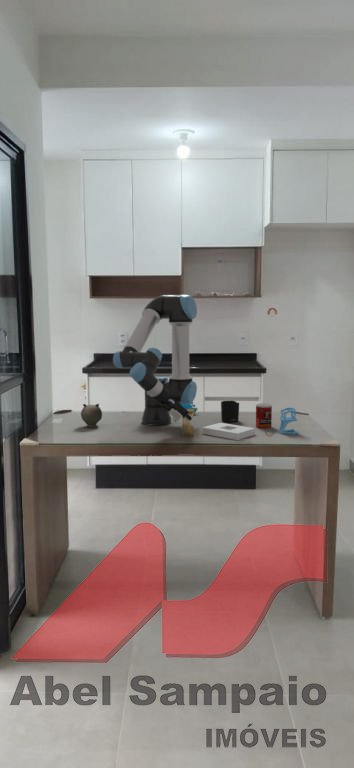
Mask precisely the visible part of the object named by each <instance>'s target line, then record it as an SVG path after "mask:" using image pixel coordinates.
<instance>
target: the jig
mask: <svg viewBox="0 0 354 768" xmlns="http://www.w3.org/2000/svg"><path fill="white" fill-rule="evenodd" d="M202 434H203V435H208V436H214V437H218V438H225V439H229V440H236V441H239V440H242V439H246V438H249V437H251V436H252V437H253V436H255V435H256V428H255V427H250V426H244V425H238V424H237V425H236V424H233V423H232V424H231V423H227V422H218V423H214V424H211V425H207V426H203V427H202Z"/></svg>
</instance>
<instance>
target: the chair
mask: <svg viewBox="0 0 354 768" xmlns="http://www.w3.org/2000/svg"><path fill="white" fill-rule="evenodd" d="M280 413H281V416H279V419H280V426H279V429H278V433H279V434H280V435H284V434H285V435H299V433H300V432H298V430H296V429H294V428H290V429H286V427H287V426H288V424H290V423H292V422H298V419H297V418H296V415H297V410H296V408H295V407H286V408H283V409H280ZM289 413H291V414H290V416H286V414H289Z"/></svg>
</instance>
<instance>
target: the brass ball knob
mask: <svg viewBox="0 0 354 768" xmlns="http://www.w3.org/2000/svg"><path fill="white" fill-rule="evenodd" d="M186 410H187V411H189V414H190V415H191V416H192V418H193V419H194V413H193V412H194V409H186ZM193 436H194V425H193V426H192V425H191V424H190V423H189V422H188V421H187V420H186V419H185V418H183V417H182V437H193Z"/></svg>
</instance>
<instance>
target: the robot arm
mask: <svg viewBox="0 0 354 768" xmlns="http://www.w3.org/2000/svg"><path fill="white" fill-rule="evenodd" d="M197 313H198V307H197V303H196V300H195V298H194V296H192V295H190V294H163V295H159V296H156V297H155V298H153V299H152V300H151V301H150V302H148V304H146V305H145V307H144V309H143V310H142V312H141V318H140V320H139V321H138V323H137V325H136V326H135V329H134V330H133V331H132V334H131V335H130V337H129V339H128V340H127V342H126V344H125V345H124V347H123V349H122V351H121V350H120V351H116V352H115V353H114V354H113V357H112V363H113V365H114V367H115V368H119V369H130V371H129V377H131V378H132V379H133V380H134V382H135V383H137V384H138V385H139V387H140V388H142V389H143V390H144V410H143V414H142V417H141V423H142V424H143V425H146V426H147V425H149V426H165V425H169V424H170V423H172V417H173V418H174V419H175V420H176V421H177V422H178V421H179V420H180V419H181V418H182V419H183V418H185V419H186V420H187V421H188V422H189V423H190V424H191V425H192V426H193V427H194V425H195V424H196V423H197V421H196V419H195V418H194V417H193V418H192V416H191V415H190V414H189V411H187V410H186V409H185V408H184V407H182V406H181V405H183V404H190V405H192V404H191V403H192V402H193V403H194V401H195V398H196V396H197V390H198V386H197V383H196V381H193V376H192V375H191V374H190V326H191V325H192V324H193V320H194V319H195V318H196V317H197ZM165 319H167V320H168V323H169V324H170V326H171V375H170V376H169V377H167V376H160V377H159V376H158V377H156V376H155V373H156V371H157V369H158V368H159V365H160V363H161V360H162V359H163V353H162V352H161V350H159V349H158V348H156V347H153V346H152V347H149V348H147V350H146V352H145V351H144V352H143V351H142V350H143V349H144V346H145V345H146V342H147V341H148V339H149V337H150V335H151V333H152V332H153V330H154V328H155V326H156V325H158V324H159V323H160V321H161V320H165ZM180 404H181V405H180Z"/></svg>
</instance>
